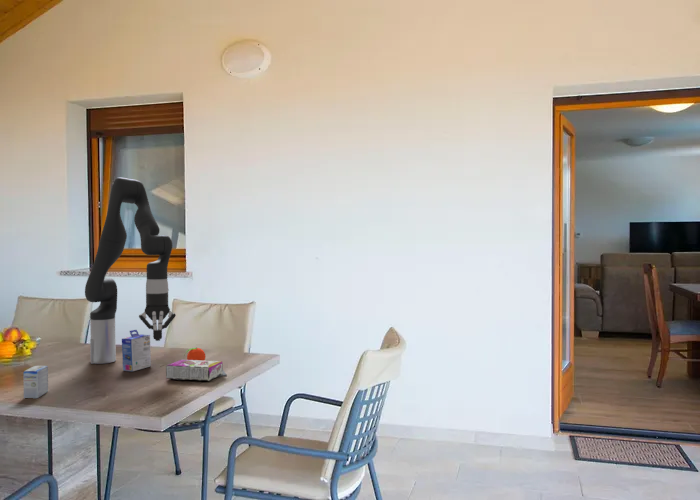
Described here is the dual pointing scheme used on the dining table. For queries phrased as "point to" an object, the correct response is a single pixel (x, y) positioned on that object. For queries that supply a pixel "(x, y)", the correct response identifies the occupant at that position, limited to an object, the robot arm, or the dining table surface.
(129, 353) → the ink cartridge box
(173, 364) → the candy bar box
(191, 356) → the clementine
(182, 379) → the mat
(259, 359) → the dining table surface
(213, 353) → the dining table surface
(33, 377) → the medicine box
